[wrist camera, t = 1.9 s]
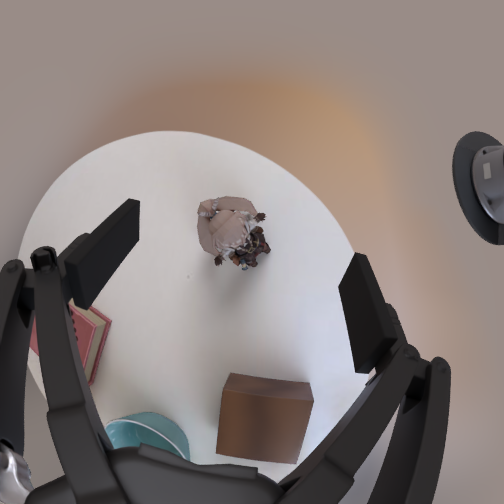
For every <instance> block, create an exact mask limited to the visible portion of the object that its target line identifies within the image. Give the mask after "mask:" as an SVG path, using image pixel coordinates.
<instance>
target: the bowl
mask: <svg viewBox="0 0 504 504" xmlns="http://www.w3.org/2000/svg"><path fill="white" fill-rule="evenodd" d="M104 429H105V431H106V433H107V435H108V437H109V439H110V441H111V443H112V445H113V447H114V449H117V448H121V447H128V446H136V447H139V446H140V443H141V442H142V443H145V444H148V445H151V446H155V447H158V448H161V449H165V450H168V451H170V452H172V453H174V454H176V455H178V456H180V457H182V458H184V459H186V460H188V461H190V453H189V444H188V440H187V437H186V435H185V434H184V432H183V431H182V430H181V429H180V427H179V426H178V425H176V424H175V423H174V422H173V421H171V420H170V419H168V418H166V417H164V416H162V415H160V414H156V413H152V412H142V413H138V414H133V415H129V416H126V417H122V418H119V419H115V420H112V421H110V422H108V423H107V424H106V425H105V426H104Z"/></svg>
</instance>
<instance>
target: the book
mask: <svg viewBox="0 0 504 504" xmlns="http://www.w3.org/2000/svg"><path fill="white" fill-rule="evenodd" d="M69 306H70V311H71V316H72V322H73V327H74V332H75V336H76V341H77V345H78V349H79V353H80V357H81V361H82V365H83V368H84V372H85V375H86V378H87V382H88V385H89V386H90V385H92V384H93V382H94V378H95V374H96V371H97V367H98V364H99V360H100V357H101V353H102V350H103V347H104V343H105V340H106V337H107V334H108V331H109V328H110V325H111V322H112V321H111V320H110V319H108V318H107V317H106V316H104V315H103V314H102V313H100V312H99V311H97V310H96V309H95V308H93V307H92V306H90V308H89V309H88V310H87V311H86V310H84V309H81V308H78V307H76V306H75V305H74V301H73V298H72V299H71V300H70V302H69ZM29 347H30V348H31V349H32V350H33V351H34V352H35V353H36V354H37V355H38V356H39V352H38V344H37V334H36V322H35V318H34V323H33V328H32V334H31V340H30V346H29Z"/></svg>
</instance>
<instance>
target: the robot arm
mask: <svg viewBox="0 0 504 504" xmlns="http://www.w3.org/2000/svg"><path fill="white" fill-rule="evenodd" d="M470 179H471V185H472V189H473V192H474V195H475V198H476V200H477V202H478V204H479V206H480V208H481V210H482V211H483V213H484V214H485V215H486V216H487V217H488V218H489V219H490V220H491V221H492V222H494V223H496V224H500V225H503V224H504V146H487V147H484V148H482V149H480V150H478V151H477V152H476V153H475V154H474V156H473V158H472V160H471V165H470ZM139 217H140V201H139V200H134V199H128V200H127V201H125V202H124V203H123V204H122V205H121V206H120V207H119V208H118V209H116V210H115V211H114V212H113V213H112V214H111V215H110V216H109V217H108V218H106V219H105V220H104V221H103V222H102V223H101V224H100V225H99V226H98V227H97V228H96V229H95V230H94V231H93V232H92V233H91V234H89V233H84V234H82V235H80V236H78V237H77V238H76V239H75V240H74V241H73V242H72V243H71V244H70V245H69V246H68V248H66V249H65V250H64V251H63V252H62V253H61V254H60V255H59V256H58V257H57V255H56V251H55V249H54V248H52V247H49V246H43V247H40V248H38V249H36V250H34V252H33V253H32V254H31V257H30V258H31V262H32V266H33V269H26V268H25V267H24V264H23V262H22V261H21V260H18V259H15V260H11V261H9V262H7V263H6V264H5V265H4V266H3V268H2V270H1V272H0V501H1V502H3V503H4V504H338V503H339V501H340V500H341V499H342V498H343V497H344V496H345V494H346V493H347V492H348V491H349V489H350V488H351V486H352V485H353V483H354V478H353V477H354V475H355V473H356V472H357V470H358V469H359V468H360V466H361V465H362V463H363V462H364V461H365V459H366V458H367V456H368V455H369V453H370V452H371V450H372V449H373V447H374V446H375V444H376V443H377V441H378V440H379V438H380V437H381V435H382V433H383V431H384V430H385V428H386V427H387V425H388V423H389V422H390V420H391V418H392V417H393V415H394V413H395V411H396V409H397V408H398V406H399V404H400V406H399V410H398V414H397V419H396V422H395V426H394V429H393V433H392V437H391V440H390V443H389V447H388V450H387V453H386V456H385V459H384V462H383V465H382V468H381V470H380V473H379V476H378V479H377V481H376V484H375V486H374V489H373V491H372V493H371V496H370V498H369V501H368V503H367V504H432V501H433V498H434V494H435V490H436V486H437V482H438V478H439V473H440V469H441V464H442V459H443V454H444V448H445V441H446V434H447V425H448V416H449V404H450V386H451V369H450V366H449V364H448V363H447V361H446V360H444V359H443V358H441V357H435V358H434V359H433V360H432V361H431V362H429V361H426V360H424V359H422V358H420V354H419V352H418V350H417V349H416V348H415V347H414V346H412V345H410V344H408V343H407V340H406V337H405V334H404V331H403V329H402V326H401V325H400V324H401V323H400V321H399V320H398V315H397V313H396V311H395V309H394V308H393V307H392V305H391V304H388V303H385V300H384V297H383V295H382V292H381V290H380V287H379V285H378V282H377V280H376V277H375V275H374V273H373V270H372V268H371V266H370V263H369V261H368V258H367V256H366V255H364V254H360V253H356V252H355V254H354V256H353V258H352V260H351V262H350V264H349V266H348V268H347V270H346V272H345V274H344V276H343V278H342V280H341V282H340V284H339V286H338V288H339V293H340V297H341V302H342V306H343V311H344V315H345V320H346V325H347V330H348V335H349V340H350V345H351V351H352V356H353V362H354V368H355V373H364V374H369V373H370V372H371V370H372V369H373V368H374V367H375V370H376V374H375V375H374V376H373V377H372V378H371V379H370V380H369V381H368V382H367V383H366V384H365V385H366V387H365V388H364V390H363V391H362V393H361V394H360V395H359V397H358V398H357V399H356V401H355V402H354V403H353V405H352V406H351V407H350V408H349V410H348V411H347V412H346V413H345V415H344V416H343V417H342V418H341V420H340V421H339V422H338V423H337V425H336V426H335V427H334V428H333V429H332V430H331V432H330V433H329V434H328V435H327V436H326V437H325V438H324V440H323V441H322V442H321V443H320V444H319V445H318V446H317V447H316V448H315V449H314V451H313V452H312V453H311V454H310V455H309V456H308V457H307V458H306V459H305V460H304V461H303V462H302V463H301V464H300V465H299V466H298V467H297V468H296V469H295V470H294V471H293V472H291V473H290V474H289V475H287V476H286V477H285V478H284V479H282V480H281V481H280V482H279V483H278V484H277V483H276V482H275V481H273V480H272V479H270V478H268V477H267V476H265V475H262V474H260V473H257V472H258V468H257V467H249V466H241V465H234V464H215V465H197V464H194V463H192V462H190V461H188V460H186V459H184V458H182V457H180V456H178V455H176V454H174V453H172V452H170V451H168V450H165V449H161V448H158V447H155V446H151V445H148V444H145V443H142V442H141V443H140V446H139V447H136V446H128V447H121V448H117V449H114V447H113V445H112V443H111V441H110V439H109V437H108V435H107V433H106V431H105V429H104V427H103V425H102V422H101V419H100V417H99V414H98V411H97V409H96V406H95V403H94V400H93V397H92V394H91V391H90V388H89V385H88V382H87V378H86V375H85V372H84V368H83V365H82V361H81V357H80V353H79V349H78V345H77V341H76V336H75V332H74V327H73V322H72V316H71V311H70V306H69V302H70V300H71V299H72V298H73V301H74V305H75V306H76V307H78V308H81V309H84V310H86V311H87V310H88V309H89V308H90V306H91V305H92V303H93V302H94V300H95V299H96V297H97V296H98V294H99V293H100V292H101V290H102V289H103V287H104V286H105V284H106V283H107V282H108V280H109V279H110V278H111V276H112V275H113V273H114V272H115V271H116V269H117V268H118V267H119V265H120V264H121V263H122V261H123V260H124V259H125V257H126V256H127V255H128V254H129V252H130V251H131V250H132V248H133V247H134V246H135V245H136V243H137V242H138V241H139ZM34 318H35V322H36V334H37V344H38V352H39V359H40V366H41V372H42V378H43V383H44V388H45V393H46V398H47V402H48V406H49V411H48V412H47V421H48V425H49V428H50V432H51V436H52V439H53V442H54V445H55V448H56V451H57V454H58V457H59V460H60V463H61V465H62V468H63V471H64V473H65V475H63V476H61V477H59V478H57V479H55V480H53V481H51V482H48V483H46V484H44V485H42V486H40V487H37V488H35V489H34V488H33V486H32V484H31V482H30V477H31V472H30V469H29V467H28V464H27V462H26V461H25V459H24V458H23V451H24V398H25V382H26V381H25V380H26V370H27V361H28V353H29V346H30V340H31V334H32V328H33V323H34Z"/></svg>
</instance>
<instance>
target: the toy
mask: <svg viewBox="0 0 504 504" xmlns="http://www.w3.org/2000/svg"><path fill="white" fill-rule="evenodd" d="M234 210H238V211H236V212H235V213H234ZM216 211H220V212H218V213H216ZM239 211H247V212H249V213H250V214H252V215H253V216H255V217H254V218H253V219H252V220H251V221H249V222H247V220H249V219H248V217H247V216H246V215H244V214H241V213H240V212H239ZM197 213H198V215H199V216H198V224H197V229H198V235H199V241H200V244H201V246H202V248H203V249H204V251H206V252H208V253H211V254H213V255H215V256H217V257H216V258H215V259H214V260H215V264H216V266H218V267H219V265H220V264H221V265H222V260H225V259H224V257H225V256H226V255H229V258H230V259H231V260H233V263H234V264H236V265H237V266H239V264H240V263H241V265H242V267H243V268H242V270H247V269H248V268H247V266H246V264H247V265H249V266H252V267H256V266H257V264H258V263H257V262H256V257H257V256H258V255H259V254H260V253H261V252H265V253H267V254H268V253H269V252H270V251H271V249H270V248H269V245H268V244H267V243H266V242H265V238H264V234H262V233H263V229H262V228H261V227H259V226H255V225H256V224H257V223H259V221H262V220H265V219H263V218H265V217H266V216H265V215H266V214H264V213H257V211H256V209H255V208H254V206H253V204H252V203H251V201H249V200H247V199H244V198H239V197H228V196H225V197H221V198H219V197H218V198H217V199H214V200H213V199H209V200H206V201H204V202H201V203H200V205H199V208H198V212H197ZM210 218H211V220H210ZM246 219H247V220H246ZM262 222H263V221H262ZM250 231H252V232H256V233H250ZM215 246H216V247H217V248H221V249H222V252H218V251H217V249H216V247H215ZM225 261H226V260H225Z"/></svg>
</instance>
